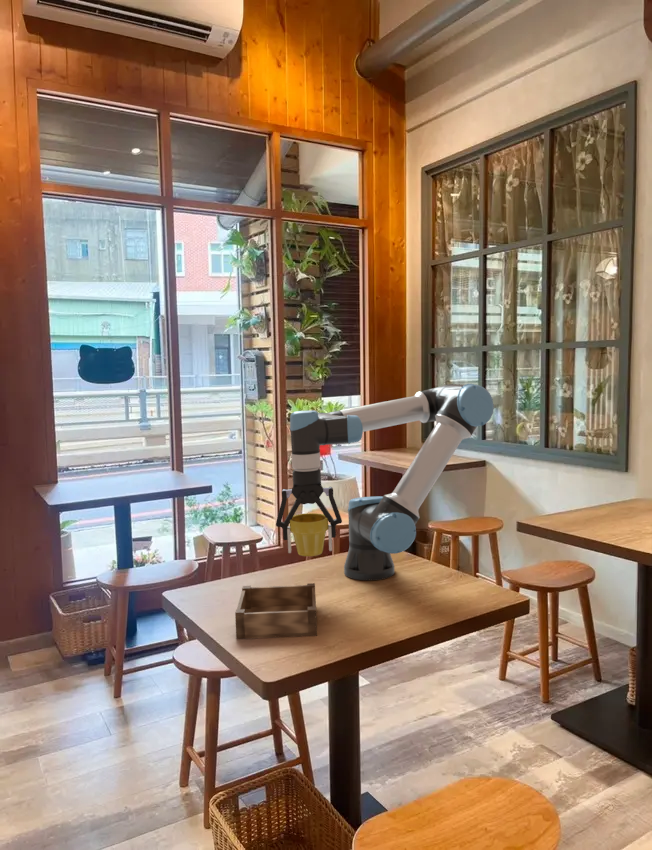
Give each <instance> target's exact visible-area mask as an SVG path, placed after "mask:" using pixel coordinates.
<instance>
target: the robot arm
mask: <svg viewBox="0 0 652 850" xmlns="http://www.w3.org/2000/svg"><path fill="white" fill-rule="evenodd" d="M493 414H494V400H493V397H492V395H491V393H490V392H489V390H488V389H486V388H485V387H484V386H482V385H479V384H475V383H466V384H463V383H462V384H461V383H448V384H443V385H439V386H436V387H433V388H429V389H425V390H421V391H417V392H416V393H415V394H414V395H413V396H407V397H402V398H397V399H391V400H388V401H387V400H386V401H380V402H376V403H370V404H365V405H361V406H356V407H351V408H346V409H345V408H344V409H341V410H335V411H330V412H318V411H317V410H298V411H297V410H296V411H293V412H291V414H290V416H289V418H290V419H289V430H290V432H289V433H290V444H291V445H290V446H291V465H292V466H291V467H292V469H293V471H292V488H291V489H285V488H283V489H281V498H282V499H281V502H280V507H279V509H278V510H279V511H278V513H277V518H276V521H275V526H276V527H279V528H282V536H283V538H282V539H283V540H284V541H287V549H288V550H287V553H288V554H292V539H291V538H292V536H291V533H292V532H291V531H290V520H291V519H292V518H293V516H295V515H296V511H297V510H298V509H299V507H300V505H308V504H310V505H314V504H316V505H317V507H318V508H319V509H320V511H321V513H322V514H324V515H325V517H326V518H328V530H327V531H328V550H329V552H332V551H333V542H332V541H333V538H336V536H337V533H336V531H337V529H336V526H337V525H340V524H342V523H343V519H342V517H341V513H340V511H339V508H338V506H337V503H336V500H335V497H334V488H333V487H332V486H329V487H323V485H322V476H321V475H322V472H321V469H320V467H321V452H320V451H321V449H320V446H326V445H327V446H328V445H329V446H330V445H342V444H348V445H349V444H352V443H359V442H360V441H361V439H362V437H363V432H369V431H373V430H379V429H384V428H388V427H393V426H397V425H398V426H399V425H403V424H407V423H413V422H418V421H419V422H420V423H422V424H426V423H429V422H436V424H435V425H434V427H433V428H432V430H431V432H430V433H429V435H428V436H427V438H426V440H425V441H424V442H423V443H422V446H421V447H420V449H419V450H418V452H417V453H416V455H415V457H414V458H413V460H412V462H411V463H410V465H409V466H408V468H407V469H406V471H405V472H404V474H403V475H402V477H401V479H400V480H399V482H398V483H397V485H396V487H394V490H393V491H392V492H391V493H388V494H384V495H383V496H381V495H380V496H376V495H375V496H362V497H355V498H351V499H350V500H348V509H347V512H348V514H347V515H348V541H349V543H348V544H349V548H348V551H347V555H346V558H345V562H344V566H343V573H344V575H345V576H346V577H348V578H350V579H352V580H353V579H354V580H359V581H379V580H384V579H388V578H391V577H392V576H394V575H395V563H394V560H393V557H392V554H394V555H395V554H396V555H397V554H400V553H403V552H404V551H406V550H407V549H409V548H410V547H411V546H412V544H413V542H415V539H416V537H417V530H416V528H417V526H416V524H417V523H418V521H419V520H420V513H419V510H420V507H421V506H422V504H423V503H424V501H425V500H426V499H427V496H428V495H429V493H430V492H431V490H432V489H433V486H434V485H435V483H436V482H437V480H438V479H439V477H440V476H441V475H442V473H443V471H444V470H445V468H446V466H447V465H448V463H449V461H450V460H451V458H452V457H453V455H454V454H455V452H456V451H457V449H458V447H459V445H460V444H461V443H462V441H463V440H465V439H470V438H471V437H472V435H473V433H474V432H475V431H476V429H477V427H482V426H484V425H486V424H487V423H488V422H489V421H490V420H491V419H492V416H493ZM323 493H324V494H325V496H326V497H328V500H329V502H330V505H331V508H332V511H333V513H334V516H335V518H334V517H333V516H332V514H331V513H330V511H329V510H328V508H327V507H326V506H325V504H324V503H323V501H322V499H321V497H322V494H323ZM291 494H292V496H293V497H294V498H295V501H294V503H293V505H292V507H291V509H290V510H289V512H288V514H287V516H286V518H285V519H284V521H282V519H283V517H284V514H285V513H284V512H285V509H286V505H287V499H288V498H290V496H291Z"/></svg>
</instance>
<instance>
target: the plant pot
mask: <svg viewBox="0 0 652 850" xmlns="http://www.w3.org/2000/svg"><path fill="white" fill-rule="evenodd" d="M328 525H329V521H328V518H326V517H325V515H324V514H323V513H319V512H318V513H317V512H316V513H315V512H310V513H309V512H308V513H306V512H305V513H300V514H294V516H293V518H292V519H291V520H290V523H289V527H290V532H291V533H292V536H293V539H294V543H295V546H296V547H295V548H296V551H297V554H298V555H299V556H302V557H317V556H320V555H321V554H323V551H324V545H325V541H326V539H325V538H326V534H327V531H328Z"/></svg>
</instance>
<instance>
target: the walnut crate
mask: <svg viewBox="0 0 652 850" xmlns="http://www.w3.org/2000/svg"><path fill="white" fill-rule="evenodd" d="M241 590H242V591H241V593H240V597H239V601H238V604H237V606H236V607H237V608H236V609H235V611H234V612H235V613H234V615H235V637H236V640H238V639H239V640H243V639H247V640H248V639H265V638H266V639H267V638H289V637H293V638H294V637H297V638H298V637H315V636H316V637H317V636H318V623H317V622H318V620H317V604H316V603H317V601H316V596H317V595H316V583H315V582H314V583H313V582H312V583H306V584H305V585H303V584H299V585H297V584H296V585H279V586H275V585H274V586H251V585H242V587H241Z"/></svg>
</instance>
